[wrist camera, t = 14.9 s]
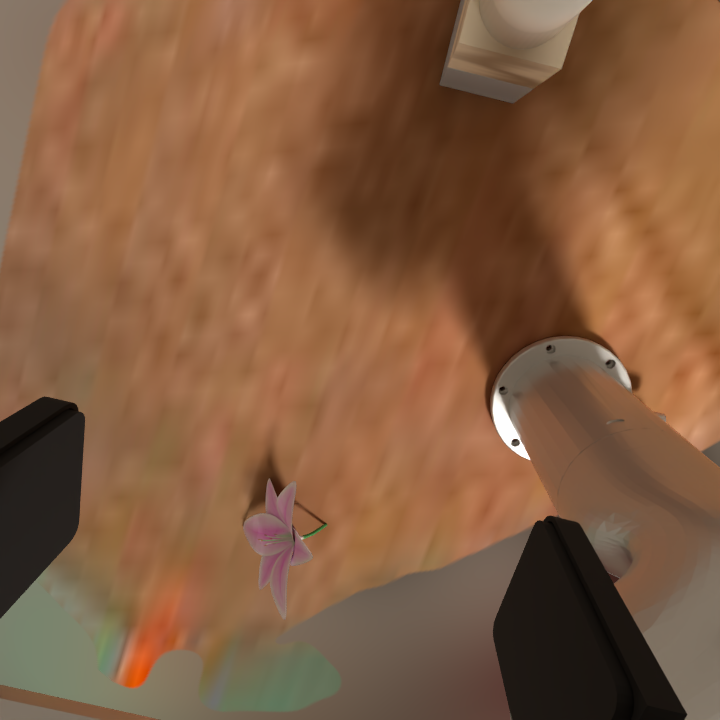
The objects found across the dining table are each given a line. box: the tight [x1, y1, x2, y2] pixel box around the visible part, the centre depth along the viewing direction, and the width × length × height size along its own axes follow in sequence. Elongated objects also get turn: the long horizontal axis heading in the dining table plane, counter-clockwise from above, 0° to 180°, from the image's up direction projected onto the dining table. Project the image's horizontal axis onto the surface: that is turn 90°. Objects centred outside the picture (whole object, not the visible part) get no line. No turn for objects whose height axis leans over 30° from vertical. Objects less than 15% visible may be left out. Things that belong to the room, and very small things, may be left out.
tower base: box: [439, 0, 533, 103], centre depth 36 cm, size 6×6×6 cm
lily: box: [243, 478, 327, 620], centre depth 50 cm, size 12×12×10 cm
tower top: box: [448, 0, 579, 89], centre depth 30 cm, size 6×6×6 cm
